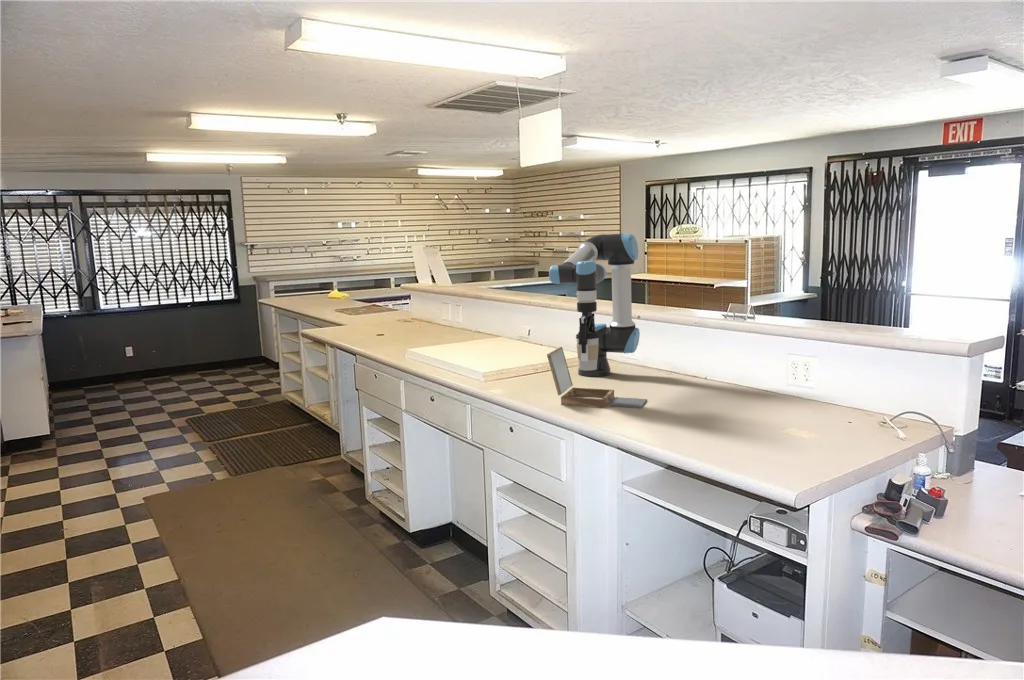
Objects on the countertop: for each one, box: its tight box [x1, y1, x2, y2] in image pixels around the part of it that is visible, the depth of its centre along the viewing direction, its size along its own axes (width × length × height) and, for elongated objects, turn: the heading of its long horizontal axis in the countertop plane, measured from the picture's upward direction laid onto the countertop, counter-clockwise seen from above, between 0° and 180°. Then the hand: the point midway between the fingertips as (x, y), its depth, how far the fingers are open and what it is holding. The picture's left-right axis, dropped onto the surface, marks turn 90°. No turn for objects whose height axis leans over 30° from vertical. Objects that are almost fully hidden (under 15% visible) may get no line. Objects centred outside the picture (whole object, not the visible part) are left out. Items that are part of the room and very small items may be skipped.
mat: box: [609, 396, 648, 409], centre depth 255 cm, size 12×12×1 cm
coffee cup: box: [575, 330, 599, 371], centre depth 258 cm, size 9×9×15 cm
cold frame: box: [560, 387, 615, 408], centre depth 261 cm, size 17×17×3 cm
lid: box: [546, 346, 573, 396], centre depth 263 cm, size 17×17×1 cm
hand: (587, 358), depth 259 cm, fingers closed on coffee cup, 9 cm apart
